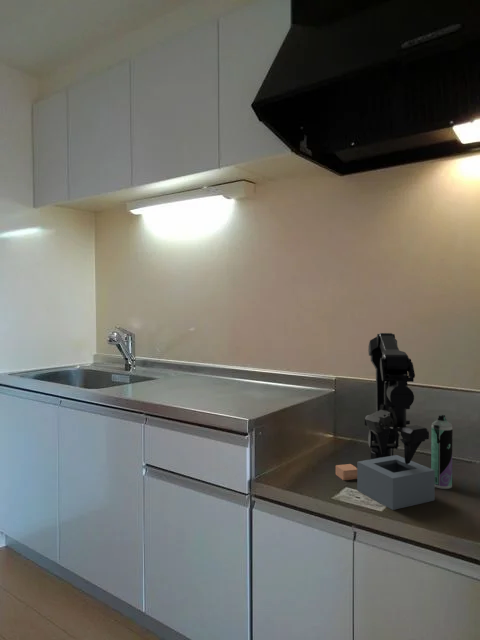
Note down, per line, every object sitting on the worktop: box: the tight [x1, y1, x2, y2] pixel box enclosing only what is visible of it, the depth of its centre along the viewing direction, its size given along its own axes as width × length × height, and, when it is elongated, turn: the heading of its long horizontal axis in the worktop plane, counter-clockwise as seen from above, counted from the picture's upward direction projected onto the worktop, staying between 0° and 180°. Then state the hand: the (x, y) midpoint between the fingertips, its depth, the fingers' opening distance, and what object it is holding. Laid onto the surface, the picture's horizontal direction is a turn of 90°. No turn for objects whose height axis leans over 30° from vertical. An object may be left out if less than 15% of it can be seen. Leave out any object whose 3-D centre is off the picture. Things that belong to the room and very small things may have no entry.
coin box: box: [356, 454, 436, 511], centre depth 128 cm, size 14×14×8 cm
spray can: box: [430, 414, 453, 490], centre depth 135 cm, size 6×6×20 cm
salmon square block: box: [335, 463, 357, 481], centre depth 143 cm, size 5×5×3 cm
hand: (394, 458), depth 128 cm, fingers open, 9 cm apart
